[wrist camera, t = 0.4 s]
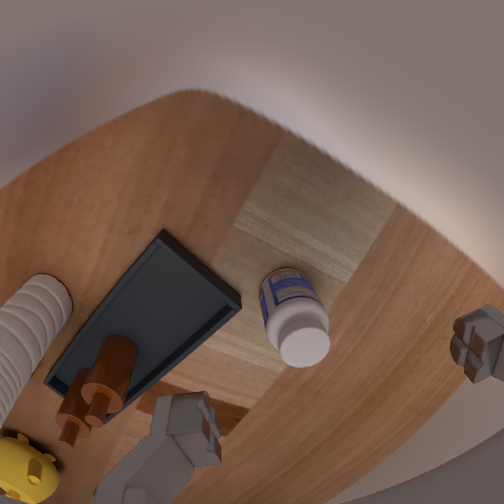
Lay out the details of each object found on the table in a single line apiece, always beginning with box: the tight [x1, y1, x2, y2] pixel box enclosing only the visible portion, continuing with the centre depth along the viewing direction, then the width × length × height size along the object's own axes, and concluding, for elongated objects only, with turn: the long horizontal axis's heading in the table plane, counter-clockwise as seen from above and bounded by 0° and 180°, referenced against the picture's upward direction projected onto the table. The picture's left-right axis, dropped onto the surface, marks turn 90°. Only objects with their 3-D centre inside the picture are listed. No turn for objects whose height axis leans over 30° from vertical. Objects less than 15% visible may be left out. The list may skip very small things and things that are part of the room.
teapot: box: [0, 433, 60, 504], centre depth 36 cm, size 20×16×14 cm
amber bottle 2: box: [81, 335, 138, 427], centre depth 28 cm, size 4×4×11 cm
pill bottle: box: [259, 268, 330, 367], centre depth 28 cm, size 5×5×10 cm
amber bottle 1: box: [56, 369, 93, 450], centre depth 29 cm, size 4×4×11 cm
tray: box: [43, 229, 242, 425], centre depth 32 cm, size 27×10×3 cm, turn 135°
